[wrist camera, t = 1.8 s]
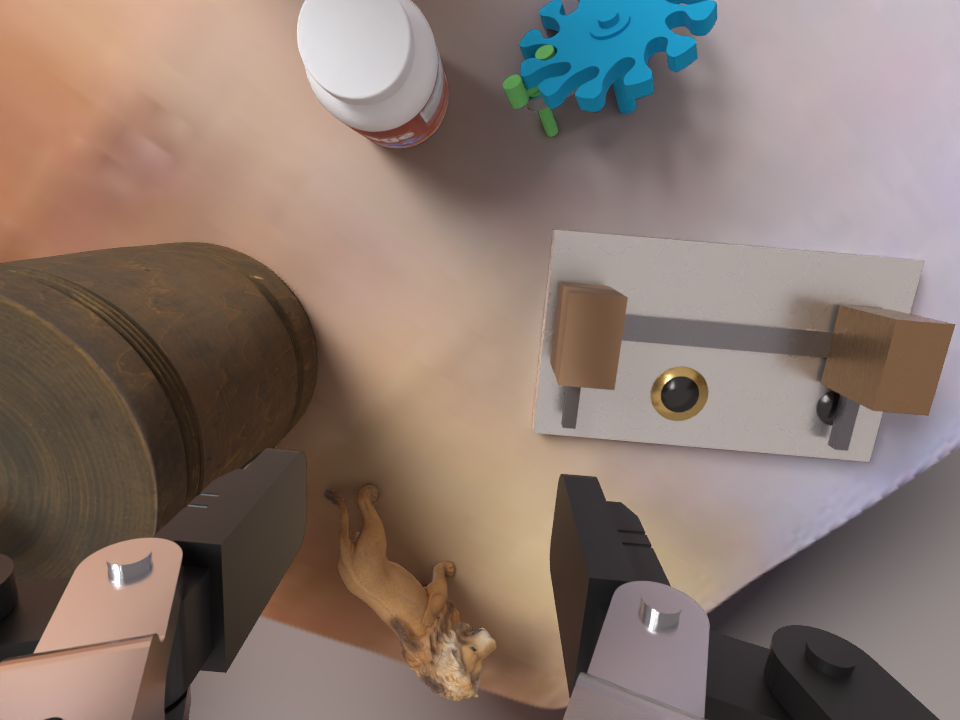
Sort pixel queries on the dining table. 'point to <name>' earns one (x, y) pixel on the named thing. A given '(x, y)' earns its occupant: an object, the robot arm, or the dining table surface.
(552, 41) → the gear
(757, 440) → the plate
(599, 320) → the sliding block
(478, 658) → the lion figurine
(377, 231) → the dining table surface
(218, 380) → the wooden container
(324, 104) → the pill bottle
